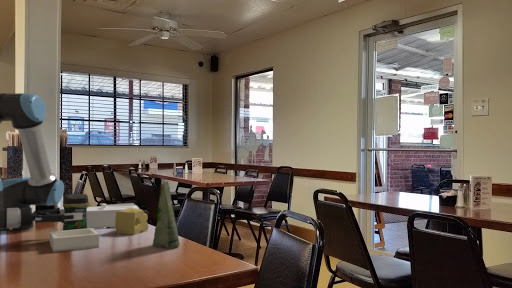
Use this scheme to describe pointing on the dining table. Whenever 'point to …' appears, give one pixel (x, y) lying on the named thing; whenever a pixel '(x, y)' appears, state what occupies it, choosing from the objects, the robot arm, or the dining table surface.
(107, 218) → the tissue box
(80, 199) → the coffee jar
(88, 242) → the tray
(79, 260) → the dining table surface
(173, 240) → the pouch
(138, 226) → the cheese
